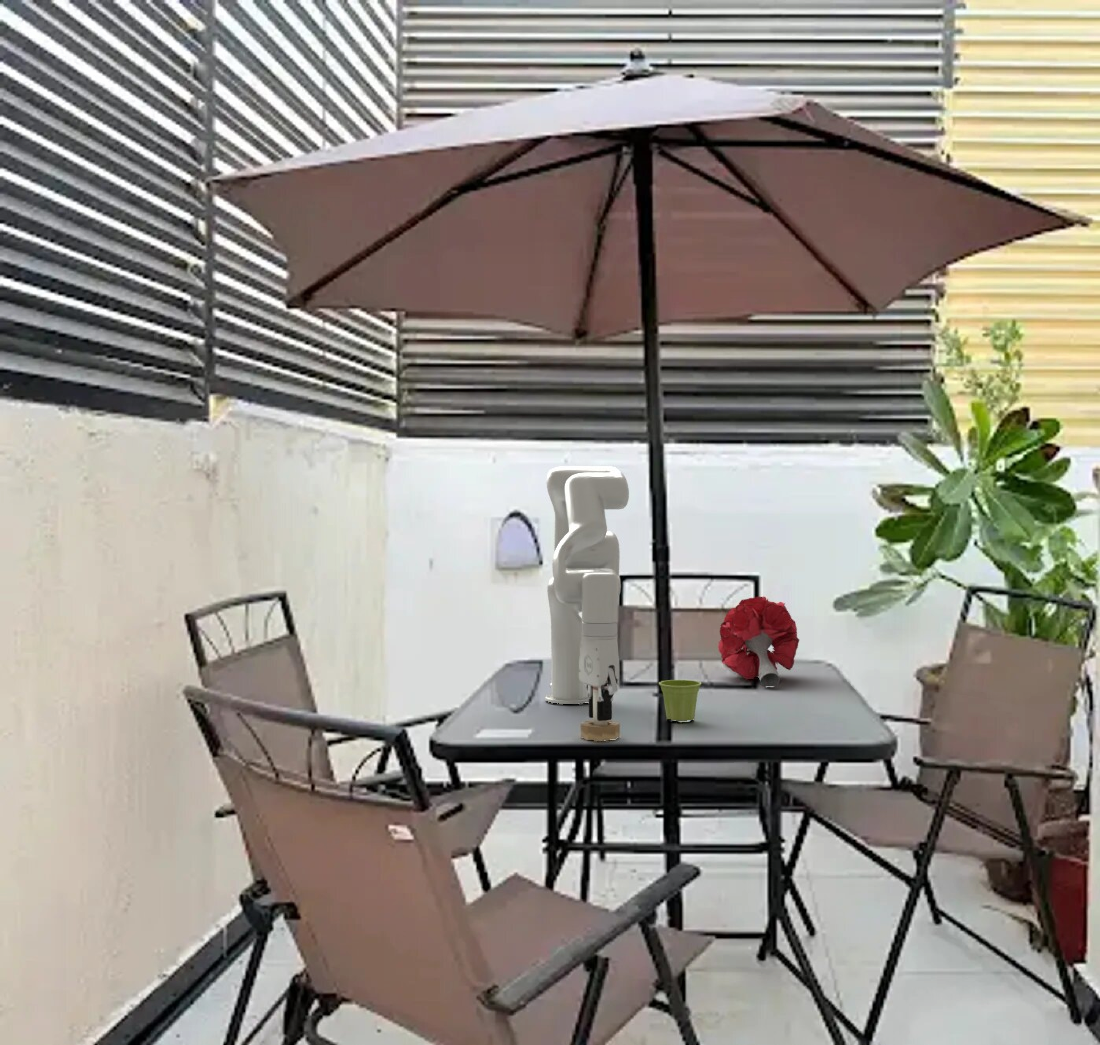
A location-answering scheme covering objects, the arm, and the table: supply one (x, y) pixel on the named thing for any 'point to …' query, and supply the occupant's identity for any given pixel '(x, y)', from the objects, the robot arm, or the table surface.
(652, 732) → the table surface
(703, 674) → the table surface
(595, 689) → the pink-tipped cream rod
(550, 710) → the table surface
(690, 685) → the plant pot
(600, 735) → the bead
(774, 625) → the bouquet
